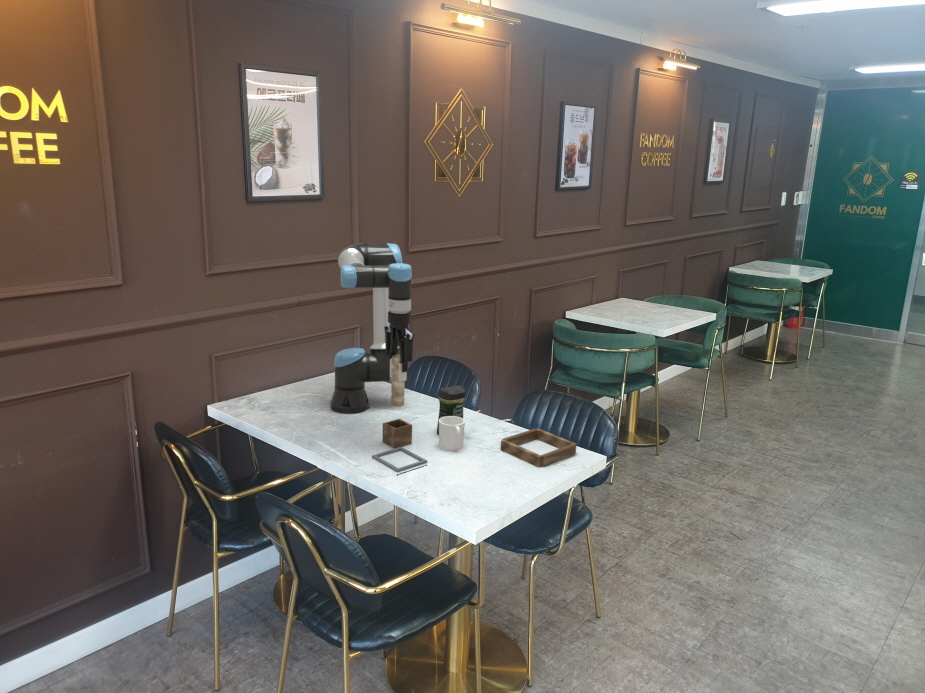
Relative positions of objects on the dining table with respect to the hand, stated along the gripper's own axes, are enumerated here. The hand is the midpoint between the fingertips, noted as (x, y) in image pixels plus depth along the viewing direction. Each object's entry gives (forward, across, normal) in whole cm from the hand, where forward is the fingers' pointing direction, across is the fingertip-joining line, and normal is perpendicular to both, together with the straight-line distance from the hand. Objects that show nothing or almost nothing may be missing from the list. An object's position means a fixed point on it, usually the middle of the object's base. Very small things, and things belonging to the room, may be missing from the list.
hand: (398, 378), depth 238 cm
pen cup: (+24, 0, 0) cm, 24 cm away
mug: (+24, +14, +13) cm, 31 cm away
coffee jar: (+25, +4, +21) cm, 32 cm away
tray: (+24, +12, -8) cm, 28 cm away
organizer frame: (+24, +33, +36) cm, 55 cm away
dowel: (+9, 0, 0) cm, 9 cm away
